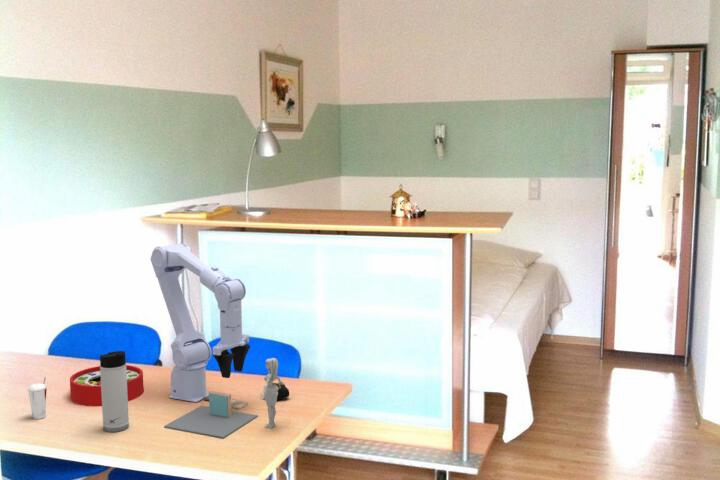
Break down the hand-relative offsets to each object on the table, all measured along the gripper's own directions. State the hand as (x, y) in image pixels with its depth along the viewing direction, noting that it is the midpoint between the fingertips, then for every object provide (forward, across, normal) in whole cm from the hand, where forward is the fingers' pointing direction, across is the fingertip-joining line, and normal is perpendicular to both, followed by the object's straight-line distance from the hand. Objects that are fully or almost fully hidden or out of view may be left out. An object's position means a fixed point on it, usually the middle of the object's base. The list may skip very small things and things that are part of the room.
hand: (232, 374), depth 204 cm
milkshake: (+10, -25, +44) cm, 52 cm away
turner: (+10, +3, +5) cm, 11 cm away
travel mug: (+10, -23, +20) cm, 32 cm away
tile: (+10, -6, 0) cm, 11 cm away
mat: (+10, -10, 0) cm, 14 cm away
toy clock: (+10, -4, +40) cm, 42 cm away
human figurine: (+10, -6, -16) cm, 20 cm away
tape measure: (+10, +13, -6) cm, 18 cm away
